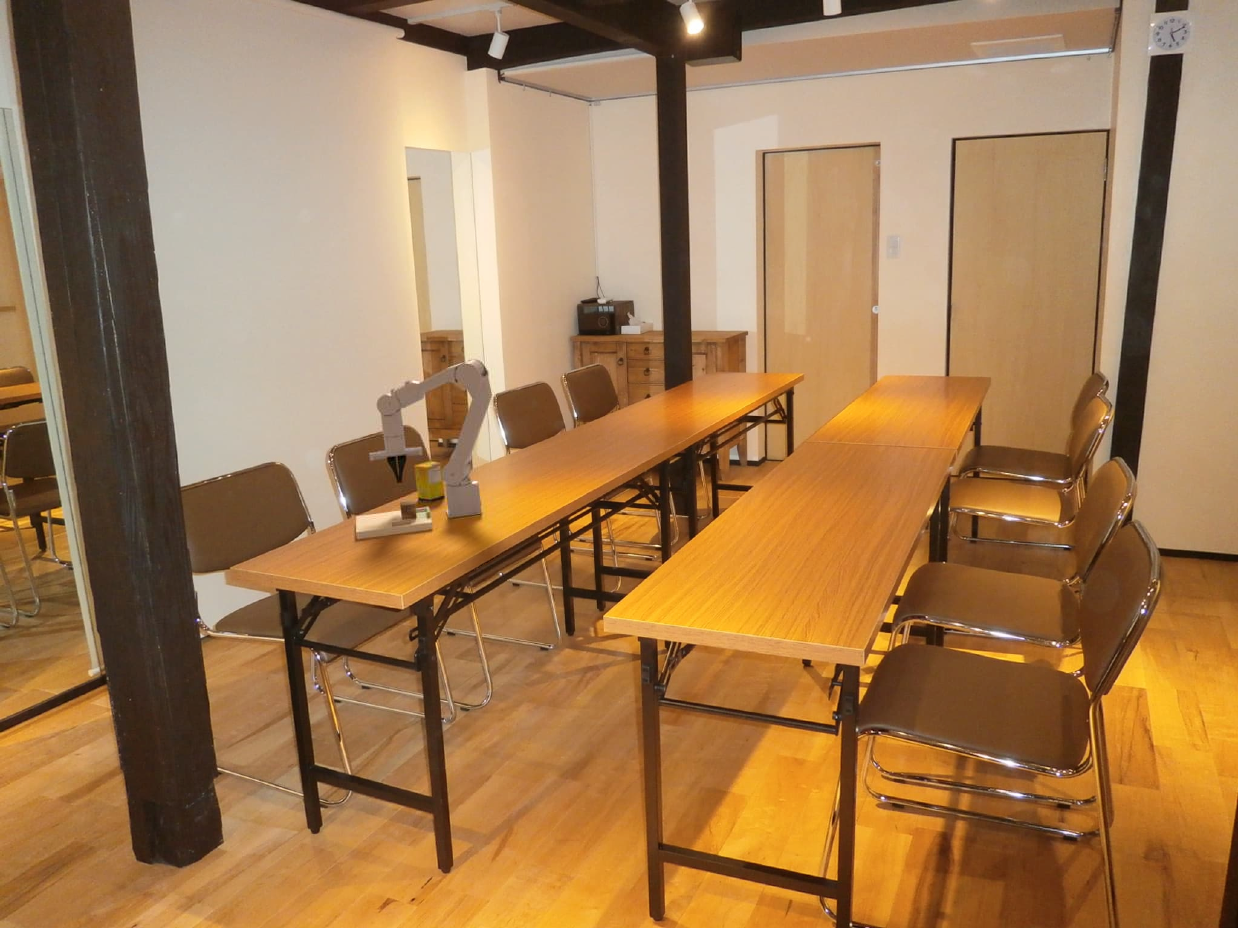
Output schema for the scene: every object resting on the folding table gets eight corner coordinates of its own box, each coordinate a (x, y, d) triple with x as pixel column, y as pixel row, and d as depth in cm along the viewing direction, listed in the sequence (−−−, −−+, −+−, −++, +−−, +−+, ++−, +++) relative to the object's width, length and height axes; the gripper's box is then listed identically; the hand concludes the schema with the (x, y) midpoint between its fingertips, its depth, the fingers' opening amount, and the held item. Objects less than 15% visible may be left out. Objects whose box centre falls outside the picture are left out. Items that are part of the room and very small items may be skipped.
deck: (428, 513, 280) (427, 501, 279) (432, 529, 264) (431, 516, 263) (357, 523, 275) (355, 510, 274) (357, 539, 259) (355, 526, 259)
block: (416, 514, 272) (414, 500, 272) (416, 517, 269) (415, 504, 268) (401, 515, 272) (400, 502, 271) (402, 519, 268) (400, 505, 267)
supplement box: (432, 495, 300) (428, 460, 298) (445, 497, 297) (441, 462, 294) (417, 500, 296) (413, 465, 293) (430, 502, 292) (426, 467, 290)
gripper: (419, 430, 280) (424, 475, 283) (367, 435, 277) (373, 481, 280) (420, 434, 273) (425, 481, 276) (367, 440, 270) (373, 487, 273)
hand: (399, 481), depth 278 cm, fingers closed
